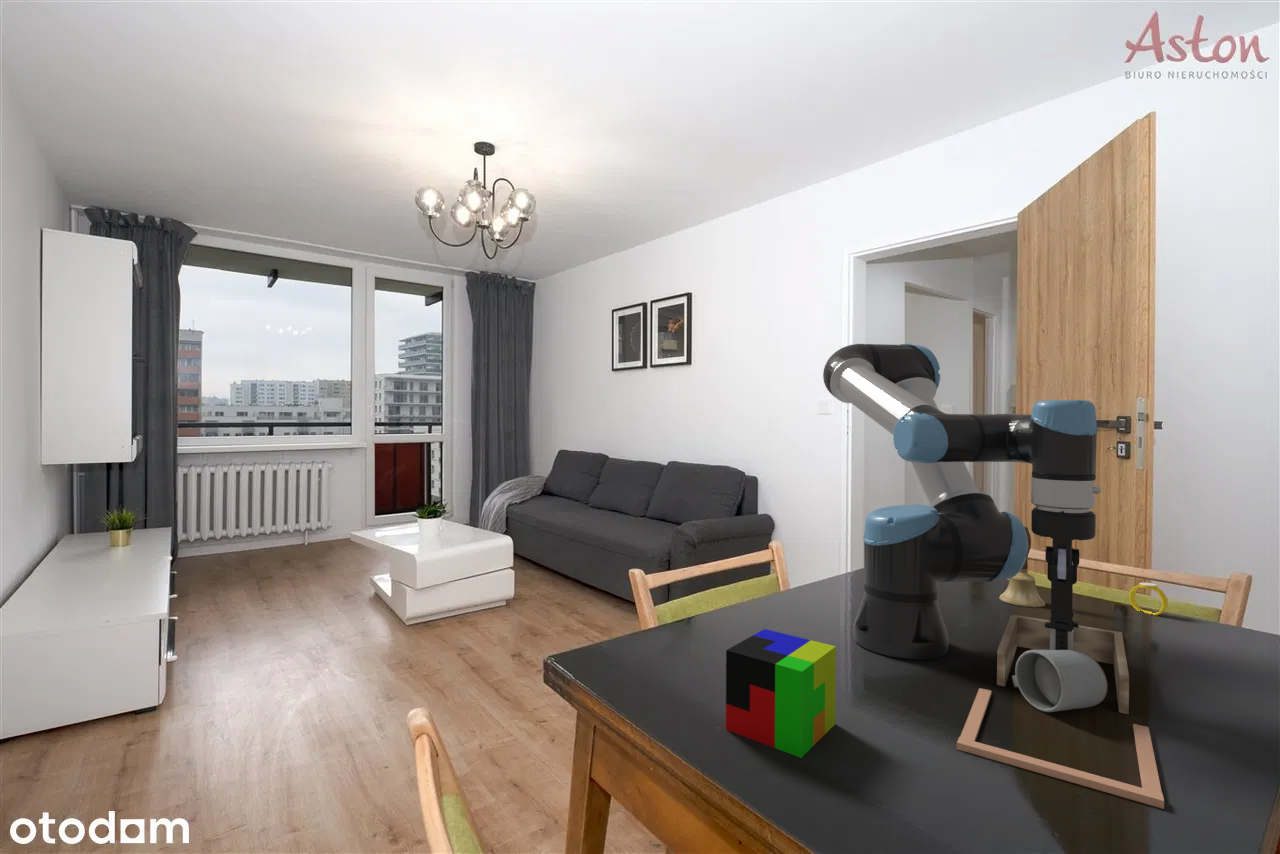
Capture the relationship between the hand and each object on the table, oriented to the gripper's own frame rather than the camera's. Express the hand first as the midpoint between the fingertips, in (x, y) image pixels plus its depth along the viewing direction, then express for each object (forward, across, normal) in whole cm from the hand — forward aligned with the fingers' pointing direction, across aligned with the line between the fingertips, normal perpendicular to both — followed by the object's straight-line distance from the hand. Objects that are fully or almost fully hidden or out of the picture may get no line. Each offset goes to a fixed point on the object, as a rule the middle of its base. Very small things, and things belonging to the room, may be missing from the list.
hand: (1061, 673), depth 87 cm
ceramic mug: (+3, -5, +1) cm, 6 cm away
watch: (+3, +52, -14) cm, 54 cm away
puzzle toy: (+3, -33, +28) cm, 44 cm away
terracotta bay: (+2, -16, 0) cm, 17 cm away
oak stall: (+2, +7, 0) cm, 7 cm away
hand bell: (+3, +47, +8) cm, 47 cm away
